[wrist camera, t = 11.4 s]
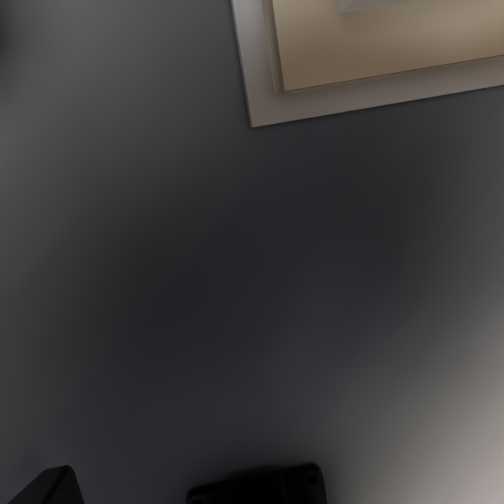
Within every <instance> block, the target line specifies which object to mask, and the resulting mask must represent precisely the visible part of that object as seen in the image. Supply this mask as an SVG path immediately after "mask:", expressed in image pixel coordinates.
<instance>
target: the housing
mask: <svg viewBox="0 0 504 504" xmlns="http://www.w3.org/2000/svg"><path fill="white" fill-rule="evenodd" d="M417 1H423V0H337V3H338V13H339V14H340V13H346V12H353V11H359V10H366V9H372V8H378V7H385V6H391V5H398V4H404V3H411V2H417Z"/></svg>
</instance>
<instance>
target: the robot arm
mask: <svg viewBox="0 0 504 504" xmlns="http://www.w3.org/2000/svg"><path fill="white" fill-rule="evenodd" d="M311 475H315V477H313V478H309V476H311ZM194 500H200V502H194ZM7 504H84V500H83V497H82V494H81V491H80V488H79V485H78V482H77V478H76V475H75V472H74V470H73V469H72V467H70V466H68V465H64V466H60V467H55V468H50V469H46V470H44V471H43V472H42V473H40V474H39V475H38V476H37V477H36V478H35V479H34V480H33V481H32V482H31V483H29V484H28V485H27V486H26V487H25V488H24V489H23V490H22V491H21V492H20V493H18V494H17V495H16V496H15V497H14V498H13V499H12V500H11V501H10V502H9V503H7ZM186 504H327V500H326V493H325V486H324V480H323V475H322V473H321V470H320V468H319V467H318V466H316V465H307V466H303V467H298V468H293V469H288V470H284V471H279V472H274V473H269V474H265V475H260V476H255V477H250V478H246V479H241V480H236V481H231V482H227V483H222V484H217V485H212V486H208V487H203V488H198V489H194V490H192V491H190V492H189V493H188V495H187V501H186Z"/></svg>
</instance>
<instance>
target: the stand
mask: <svg viewBox="0 0 504 504" xmlns="http://www.w3.org/2000/svg"><path fill="white" fill-rule="evenodd" d="M230 2H231V8H232V14H233V21H234V27H235V33H236V39H237V46H238V52H239V58H240V65H241V71H242V77H243V84H244V90H245V96H246V103H247V109H248V115H249V122H250V127H258V126H264V125H270V124H276V123H282V122H288V121H293V120H299V119H305V118H311V117H317V116H323V115H329V114H334V113H340V112H346V111H352V110H358V109H364V108H370V107H375V106H381V105H387V104H393V103H399V102H405V101H411V100H416V99H422V98H428V97H434V96H440V95H446V94H452V93H457V92H463V91H469V90H475V89H481V88H487V87H493V86H498V85H504V0H423V1H417V2H411V3H404V4H398V5H391V6H385V7H378V8H372V9H366V10H359V11H353V12H346V13H340V14H339V13H338V3H337V0H230Z"/></svg>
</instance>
